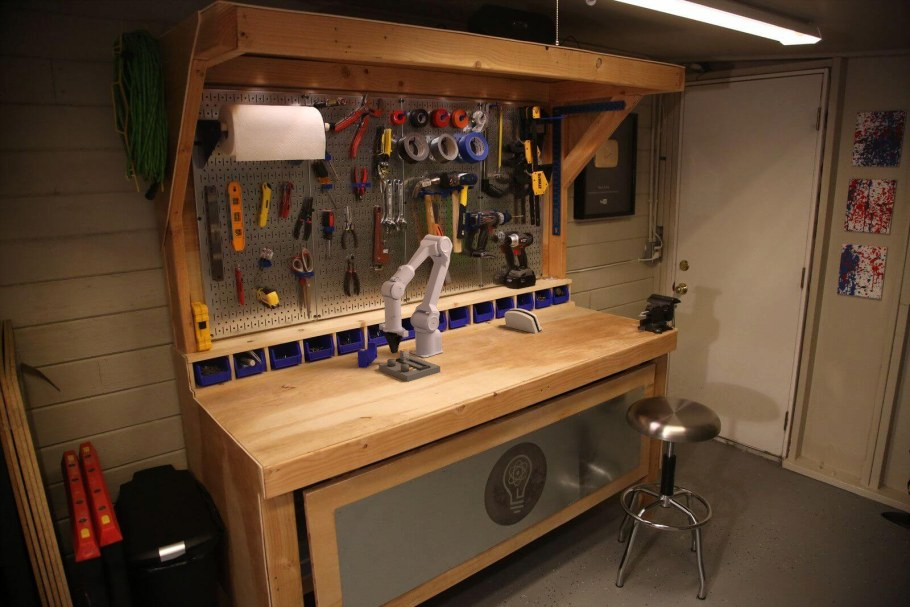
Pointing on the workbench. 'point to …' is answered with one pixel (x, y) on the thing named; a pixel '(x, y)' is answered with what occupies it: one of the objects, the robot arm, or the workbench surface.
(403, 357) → the fader tab
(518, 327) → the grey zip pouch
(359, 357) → the blue block
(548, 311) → the workbench surface
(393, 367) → the console board
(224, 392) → the workbench surface
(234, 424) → the workbench surface
